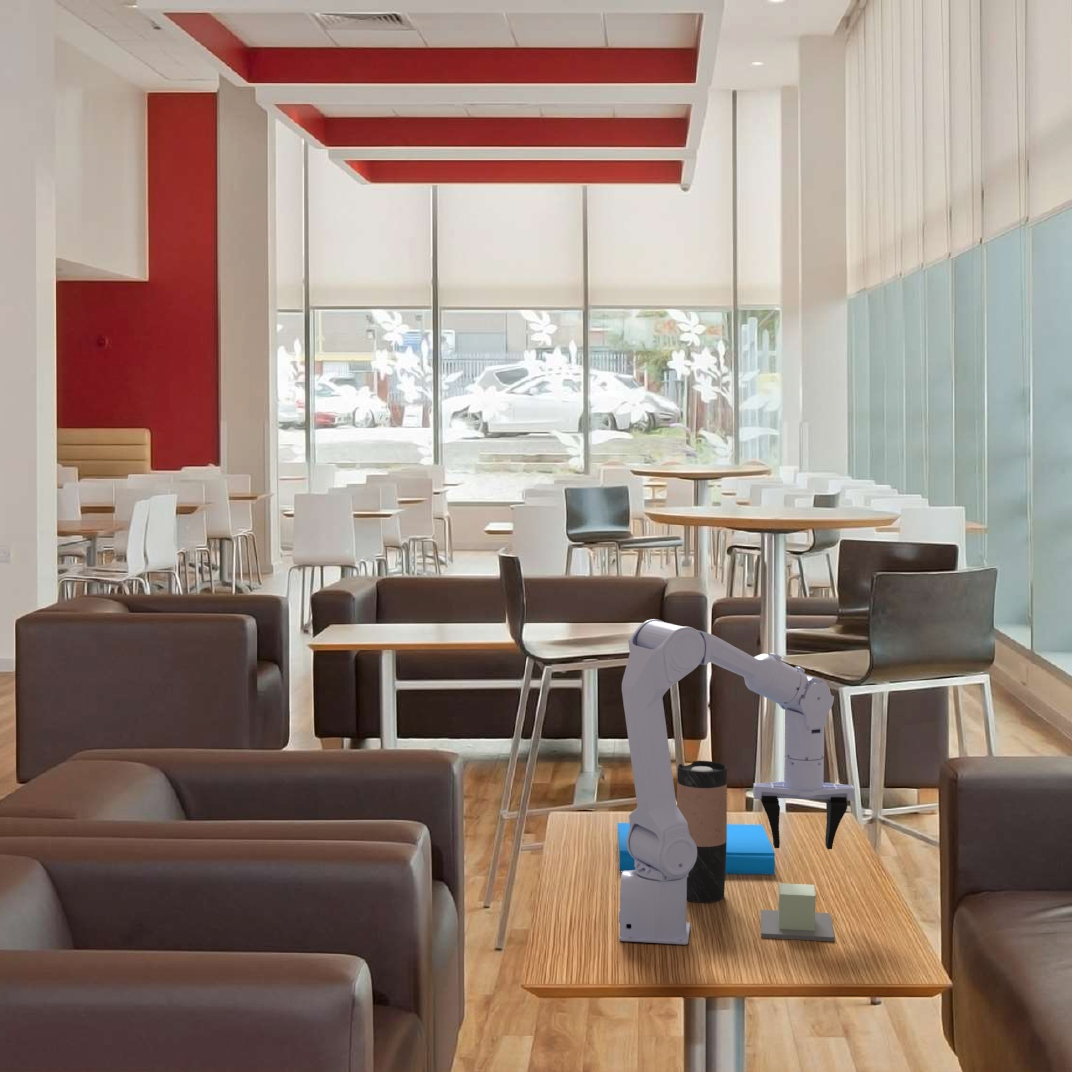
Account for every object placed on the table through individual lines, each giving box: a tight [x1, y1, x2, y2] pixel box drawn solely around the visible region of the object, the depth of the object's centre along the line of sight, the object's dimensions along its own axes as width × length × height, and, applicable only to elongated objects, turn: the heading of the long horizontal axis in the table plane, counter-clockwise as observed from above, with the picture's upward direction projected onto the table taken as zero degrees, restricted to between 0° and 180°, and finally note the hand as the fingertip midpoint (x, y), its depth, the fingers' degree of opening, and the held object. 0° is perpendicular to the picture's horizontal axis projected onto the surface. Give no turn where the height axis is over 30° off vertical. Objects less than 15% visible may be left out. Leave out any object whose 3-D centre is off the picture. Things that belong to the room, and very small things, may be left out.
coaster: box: [760, 909, 835, 942], centre depth 204 cm, size 10×10×1 cm
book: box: [616, 822, 776, 875], centre depth 237 cm, size 17×4×25 cm
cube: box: [777, 882, 817, 931], centre depth 203 cm, size 5×5×5 cm
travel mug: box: [676, 760, 728, 904], centre depth 217 cm, size 8×8×20 cm
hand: (802, 846), depth 211 cm, fingers open, 7 cm apart
